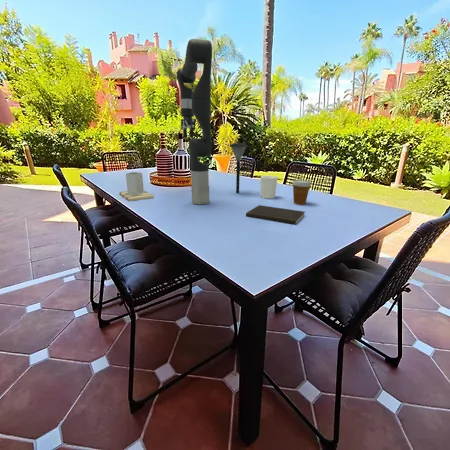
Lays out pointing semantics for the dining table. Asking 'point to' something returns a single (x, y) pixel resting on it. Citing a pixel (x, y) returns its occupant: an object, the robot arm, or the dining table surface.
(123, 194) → the base plate
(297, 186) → the disposable coffee cup
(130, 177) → the sleeve
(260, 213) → the hardcover book
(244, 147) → the solar garden light
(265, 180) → the white paper cup
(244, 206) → the dining table surface
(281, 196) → the dining table surface
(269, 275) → the dining table surface
